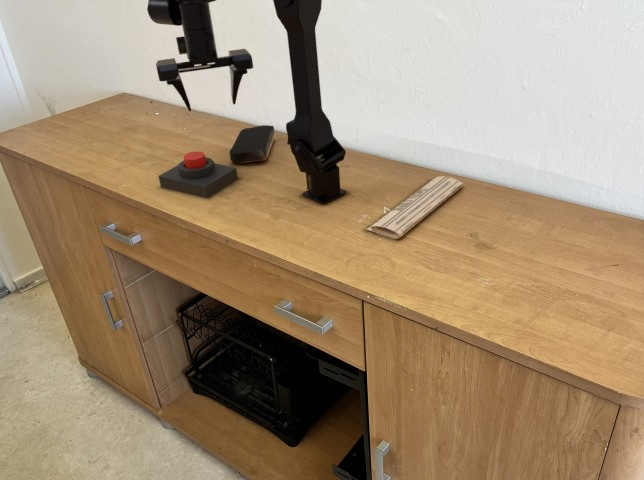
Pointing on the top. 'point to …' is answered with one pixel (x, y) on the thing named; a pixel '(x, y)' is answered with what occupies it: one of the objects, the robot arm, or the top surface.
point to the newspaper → (416, 207)
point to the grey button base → (199, 178)
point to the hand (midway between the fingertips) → (212, 107)
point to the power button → (194, 160)
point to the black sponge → (252, 144)
